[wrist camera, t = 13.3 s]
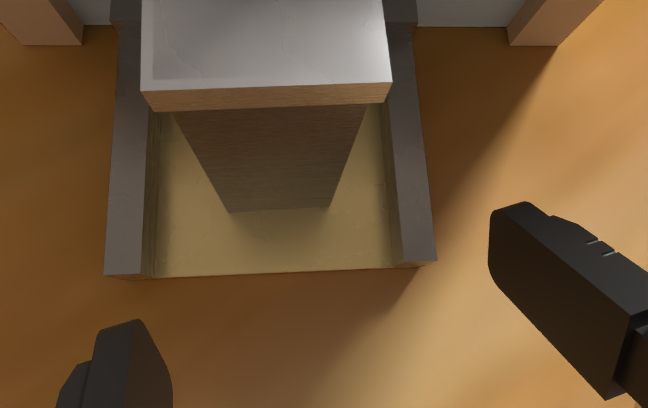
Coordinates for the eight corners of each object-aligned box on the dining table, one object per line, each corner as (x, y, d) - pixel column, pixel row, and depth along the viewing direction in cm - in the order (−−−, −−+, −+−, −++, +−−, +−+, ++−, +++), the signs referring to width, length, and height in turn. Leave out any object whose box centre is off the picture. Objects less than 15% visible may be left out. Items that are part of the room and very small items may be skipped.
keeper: (397, 45, 20) (415, -1, 17) (420, 266, 18) (446, 256, 15) (137, 45, 19) (111, -4, 16) (124, 279, 17) (89, 272, 14)
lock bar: (325, 109, 19) (366, -113, 9) (335, 211, 18) (392, 81, 8) (219, 114, 18) (143, -115, 9) (223, 218, 17) (139, 90, 8)
